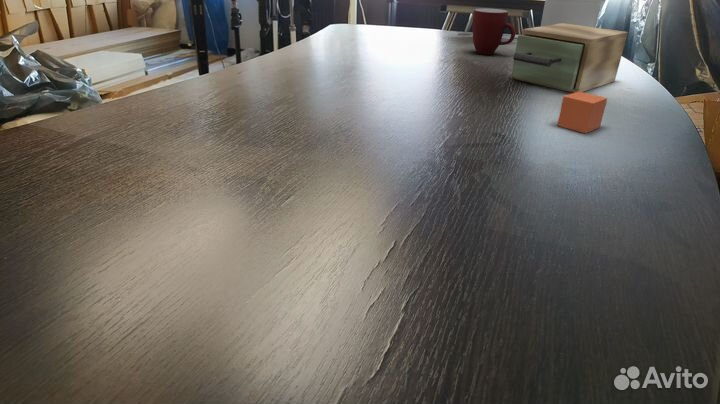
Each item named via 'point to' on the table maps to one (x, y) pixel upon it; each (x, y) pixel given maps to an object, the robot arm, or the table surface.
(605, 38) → the cabinet
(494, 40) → the mug
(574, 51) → the drawer
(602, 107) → the block
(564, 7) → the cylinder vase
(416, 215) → the table surface
